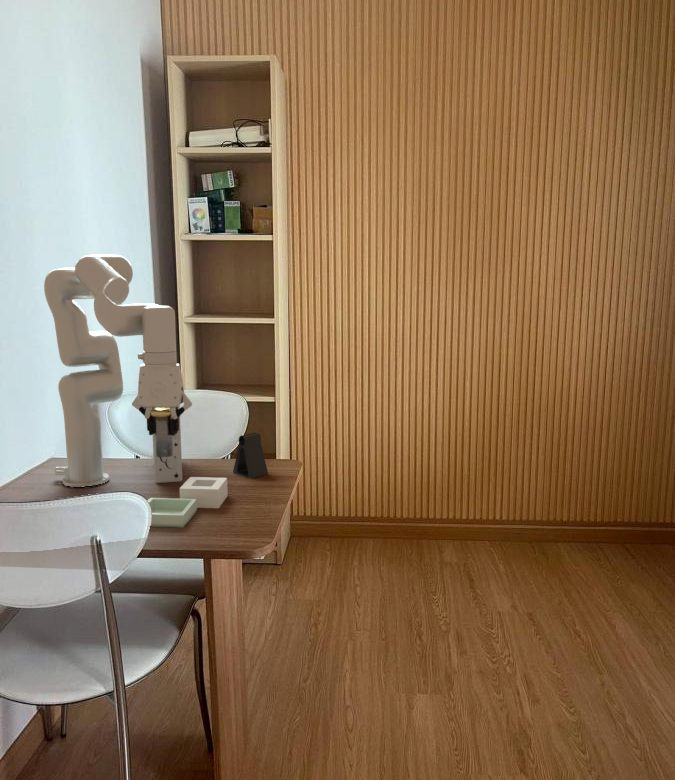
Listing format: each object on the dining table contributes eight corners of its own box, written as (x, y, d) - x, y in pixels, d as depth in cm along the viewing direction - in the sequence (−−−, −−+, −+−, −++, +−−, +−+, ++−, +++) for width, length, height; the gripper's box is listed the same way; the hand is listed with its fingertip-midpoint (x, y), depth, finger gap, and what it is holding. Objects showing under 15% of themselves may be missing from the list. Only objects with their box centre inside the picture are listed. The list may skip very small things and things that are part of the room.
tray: (134, 526, 172) (133, 513, 171) (150, 509, 184) (150, 497, 183) (183, 527, 171) (183, 515, 170) (197, 510, 183) (196, 499, 182)
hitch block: (180, 507, 185) (179, 488, 184) (191, 494, 195) (190, 476, 194) (218, 508, 184) (218, 489, 183) (227, 495, 194) (227, 477, 193)
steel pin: (149, 458, 172) (146, 411, 170) (157, 451, 177) (154, 407, 175) (172, 458, 172) (170, 412, 170) (179, 452, 177) (177, 407, 175)
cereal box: (153, 463, 225) (150, 384, 221) (178, 461, 227) (175, 383, 223) (155, 483, 205) (151, 396, 200) (182, 481, 207) (179, 395, 202)
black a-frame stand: (232, 472, 215) (231, 433, 213) (248, 468, 220) (247, 430, 218) (252, 478, 209) (251, 438, 207) (268, 474, 214) (267, 435, 211)
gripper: (119, 360, 167) (123, 437, 171) (191, 361, 166) (193, 438, 169) (130, 356, 175) (134, 429, 178) (199, 357, 173) (202, 431, 177)
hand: (163, 433), depth 174 cm, fingers closed on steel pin, 4 cm apart
